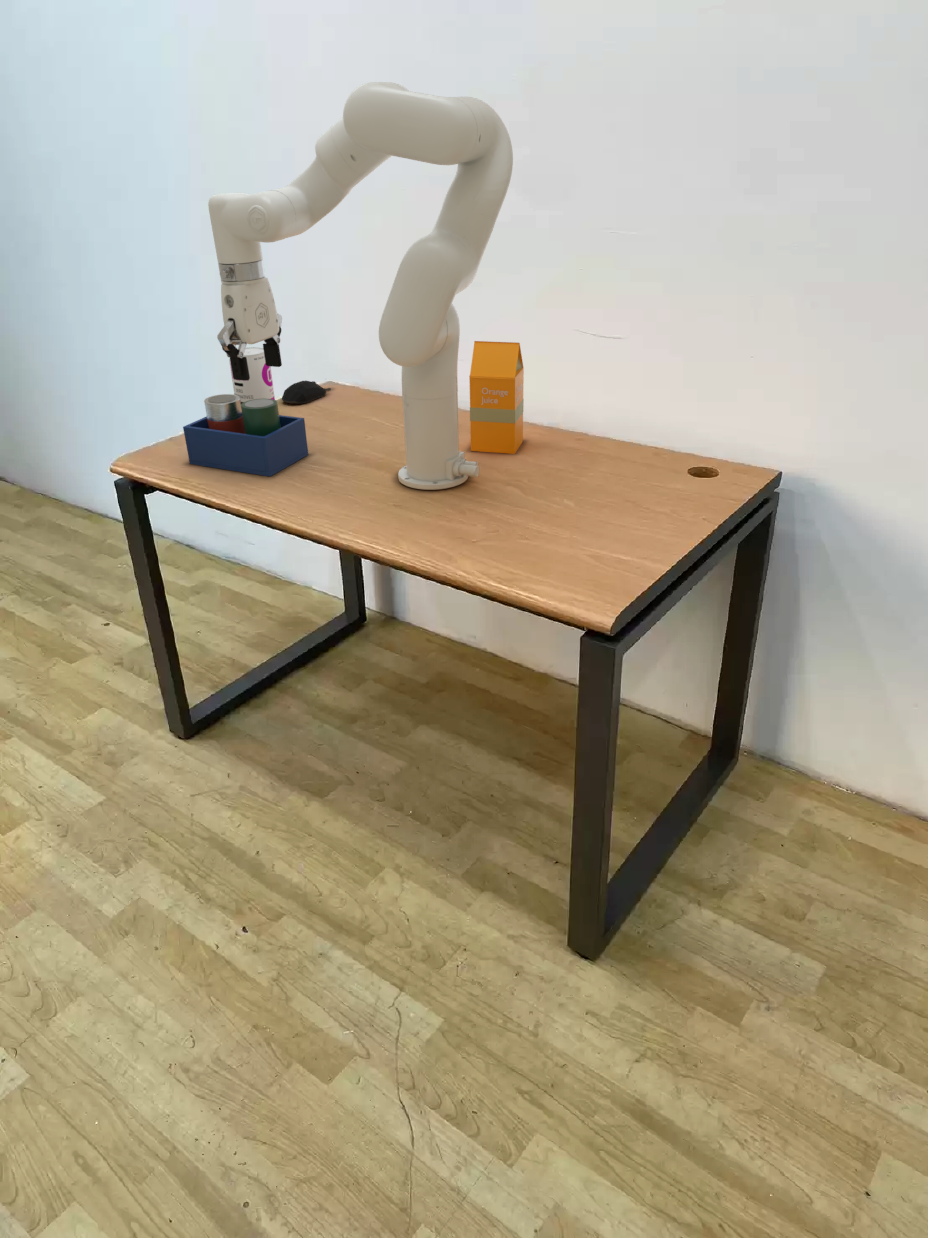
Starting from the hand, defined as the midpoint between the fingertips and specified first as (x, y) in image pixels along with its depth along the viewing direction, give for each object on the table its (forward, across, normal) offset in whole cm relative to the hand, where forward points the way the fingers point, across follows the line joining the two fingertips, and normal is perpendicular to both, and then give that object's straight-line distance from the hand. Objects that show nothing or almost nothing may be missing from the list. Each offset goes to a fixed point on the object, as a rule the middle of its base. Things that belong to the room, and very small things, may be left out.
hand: (258, 372), depth 163 cm
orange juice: (+18, +24, -36) cm, 47 cm away
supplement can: (+17, +20, +18) cm, 32 cm away
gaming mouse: (+17, +40, +18) cm, 47 cm away
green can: (+16, 0, +1) cm, 16 cm away
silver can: (+16, 0, +10) cm, 19 cm away
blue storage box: (+17, 0, +5) cm, 18 cm away
